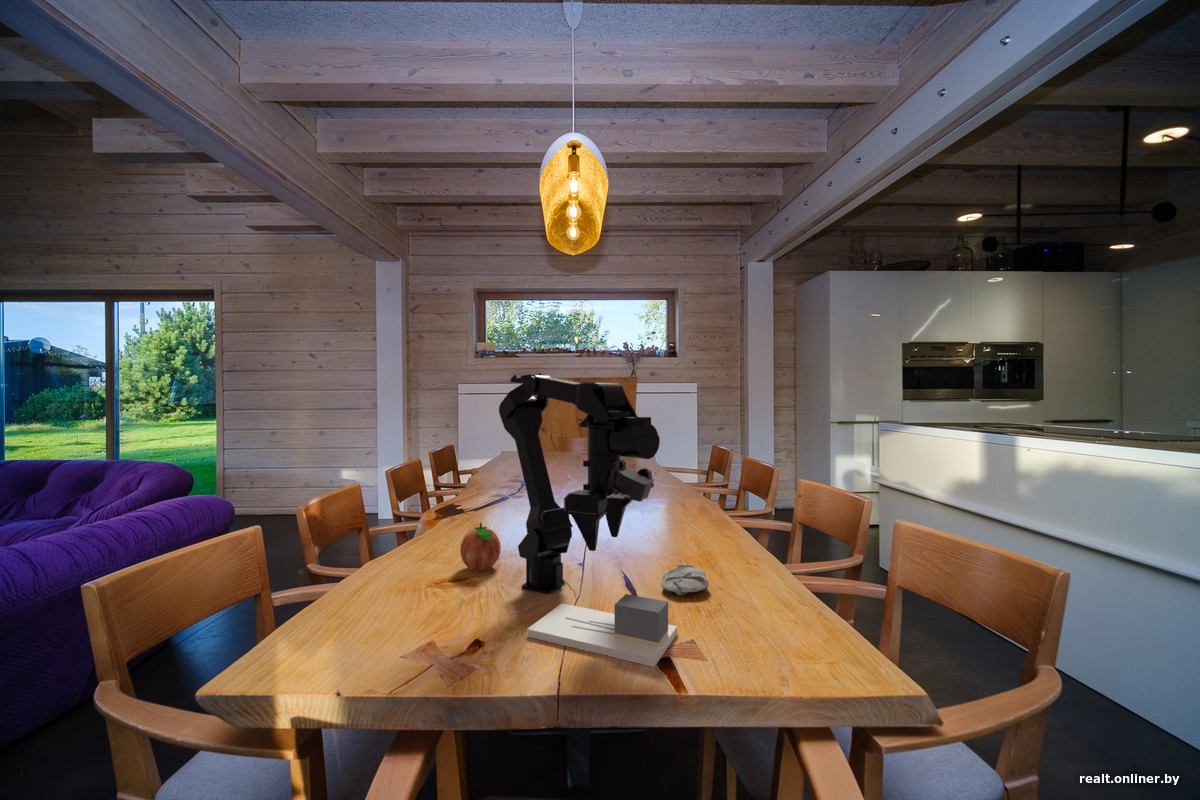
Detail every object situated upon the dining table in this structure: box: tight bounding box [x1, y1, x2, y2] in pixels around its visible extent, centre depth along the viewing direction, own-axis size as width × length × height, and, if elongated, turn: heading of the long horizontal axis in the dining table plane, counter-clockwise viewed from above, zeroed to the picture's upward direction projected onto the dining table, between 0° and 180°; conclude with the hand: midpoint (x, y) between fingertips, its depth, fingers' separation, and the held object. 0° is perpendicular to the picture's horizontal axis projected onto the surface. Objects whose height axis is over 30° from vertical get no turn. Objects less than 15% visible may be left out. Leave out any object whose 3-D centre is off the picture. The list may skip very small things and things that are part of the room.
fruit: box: [459, 522, 502, 571], centre depth 111 cm, size 9×10×10 cm
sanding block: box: [614, 593, 669, 647], centre depth 77 cm, size 7×4×5 cm, turn 65°
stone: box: [660, 564, 709, 596], centre depth 100 cm, size 12×9×3 cm
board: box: [526, 603, 678, 668], centre depth 80 cm, size 21×11×1 cm, turn 65°
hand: (603, 543), depth 89 cm, fingers open, 9 cm apart
